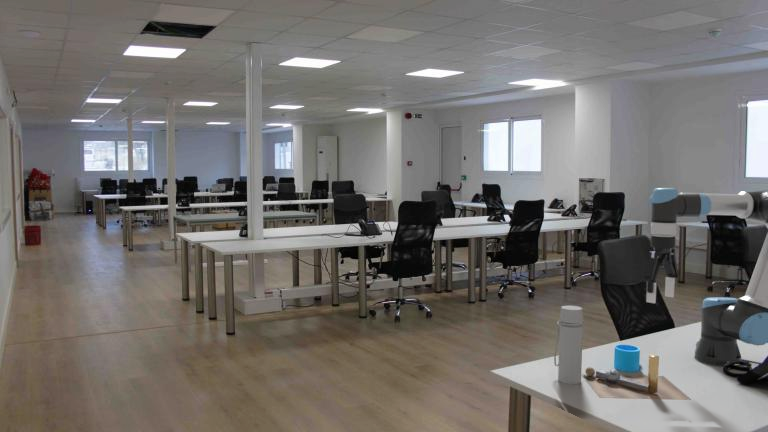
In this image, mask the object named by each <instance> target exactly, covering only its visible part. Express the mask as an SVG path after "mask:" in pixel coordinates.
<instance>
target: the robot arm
mask: <svg viewBox="0 0 768 432" xmlns="http://www.w3.org/2000/svg"><path fill="white" fill-rule="evenodd" d="M648 199H649V200H648V207H649V209H650V210H651V220H650V222H651V224H650V225H649V227H650V234H651V236H650V247H651V248H654V251H651V250H650V251H649V253H648V261H647V264H646V266H645V267H646V268H645V272H644V276H643V282H644V283H646V295H645V296H646V297H645V298H646V299H645V302H646V303H650V304H656V301H657V282H656V280H657V278H658V275H659V273H660V270H661V267H663V268H664V269H663V270H664V271H665V274H666V276H665V284H664V285H665V286H664V297H668V298H674V297H675V283H676V282H675V281H676V278H677V279H678V278H679V271H678V265H677V258H676V249H675V248H676V240H677V239H676V235H677V219H678V218H682V217H683V218H699V217H700V218H701V217H702V218H703V217H706V216H736V217H737V218H739V219H744V220H745V219H746V220H747V219H749V220H753V221H759V222H764V223H765V224H764V225H765V227H766V229H768V190H759V191H758V190H756V191H740V192H738V193H737V194H734V193H710V192H709V193H703V192H701V193H700V192H698V193H697V192H679V190H678V189H677V188H676V187H675V188H673V187H656V188H654V189H653V191H652V194H651V195H650V196H649V198H648ZM701 306H702V307H701V319H700V320H701V322H700V323H701V324H700V327H701V328H700V338H699V341H698V343H697V345H696V348H695V350H694V359H695V360H697V361H698V362H701V363H705V364H707V365H712V366H719V367H725V366H724V365H725V364H726V362H727V361H733V360H741V361H742V354H741V351H740V348H739V345H738V341H741V342H743V343H746V344H748V345H752V346H753V345H754V346H764V345H766V344H768V232H767V233H766V236H765V239H764V241H763V245H762V247H761V250H760V252H759V255H758V258H757V261H756V263H755V267H754V268H753V272H752V275H751V278H750V280H749V283H748V285H747V289H746V291H745V294H744V295H743V296H741V297H738V298H737V297H725V296H724V297H706V298H704V299H703V301H702V305H701Z"/></svg>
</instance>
